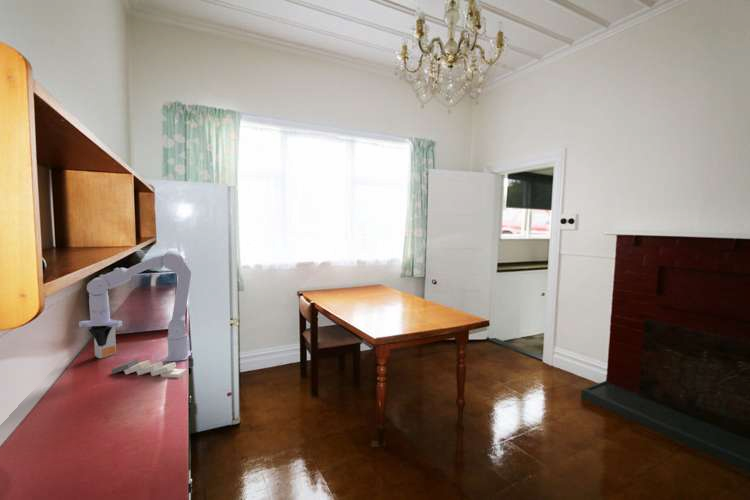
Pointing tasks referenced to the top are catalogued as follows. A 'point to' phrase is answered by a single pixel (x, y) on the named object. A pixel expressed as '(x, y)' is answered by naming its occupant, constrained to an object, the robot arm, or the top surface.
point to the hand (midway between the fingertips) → (102, 345)
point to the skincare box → (106, 346)
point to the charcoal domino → (124, 366)
